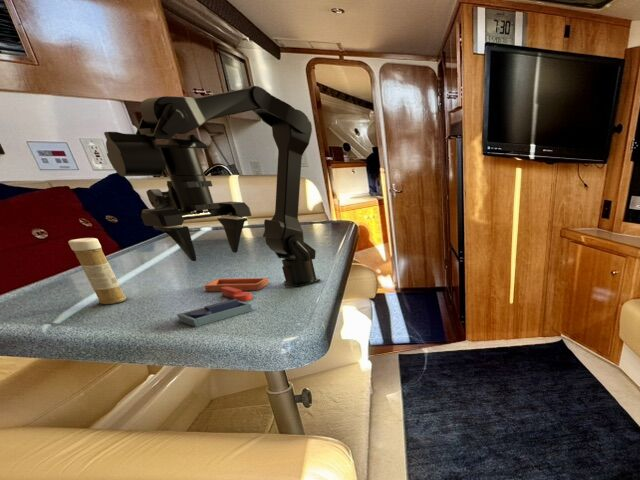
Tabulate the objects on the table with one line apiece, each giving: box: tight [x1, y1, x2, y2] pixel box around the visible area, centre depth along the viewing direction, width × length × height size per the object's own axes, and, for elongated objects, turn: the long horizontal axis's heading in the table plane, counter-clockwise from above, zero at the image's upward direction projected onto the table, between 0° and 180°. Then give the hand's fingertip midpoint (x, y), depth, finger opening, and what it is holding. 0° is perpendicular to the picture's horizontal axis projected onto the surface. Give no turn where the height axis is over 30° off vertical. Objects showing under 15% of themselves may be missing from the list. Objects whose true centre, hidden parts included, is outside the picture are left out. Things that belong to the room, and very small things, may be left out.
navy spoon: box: [190, 298, 240, 319], centre depth 82 cm, size 9×4×2 cm, turn 150°
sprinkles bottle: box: [67, 237, 127, 305], centre depth 86 cm, size 5×5×14 cm
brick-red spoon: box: [220, 286, 253, 302], centre depth 93 cm, size 9×4×2 cm, turn 60°
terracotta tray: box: [203, 277, 270, 292], centre depth 100 cm, size 12×6×1 cm, turn 96°
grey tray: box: [176, 301, 254, 328], centre depth 82 cm, size 11×6×1 cm, turn 150°
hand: (215, 256), depth 86 cm, fingers open, 9 cm apart
